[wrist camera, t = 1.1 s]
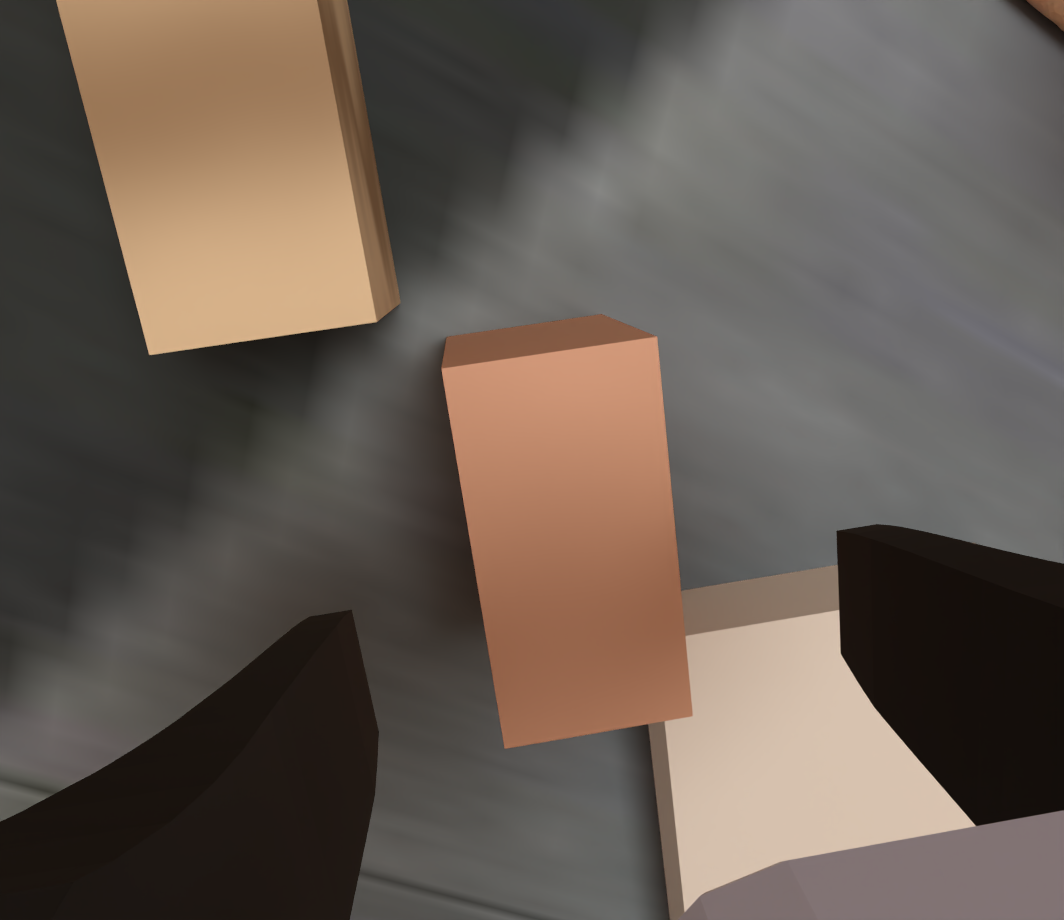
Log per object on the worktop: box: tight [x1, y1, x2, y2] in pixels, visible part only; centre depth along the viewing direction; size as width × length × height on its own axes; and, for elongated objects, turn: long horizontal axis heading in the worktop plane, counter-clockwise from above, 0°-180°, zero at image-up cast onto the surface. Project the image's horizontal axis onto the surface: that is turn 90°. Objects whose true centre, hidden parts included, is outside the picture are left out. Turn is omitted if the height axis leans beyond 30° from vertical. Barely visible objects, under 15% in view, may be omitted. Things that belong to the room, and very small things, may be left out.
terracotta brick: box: [441, 314, 693, 749], centre depth 18 cm, size 8×4×6 cm, turn 8°
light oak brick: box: [56, 0, 400, 355], centre depth 16 cm, size 8×4×6 cm, turn 8°
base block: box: [648, 543, 976, 920], centre depth 23 cm, size 12×10×3 cm
